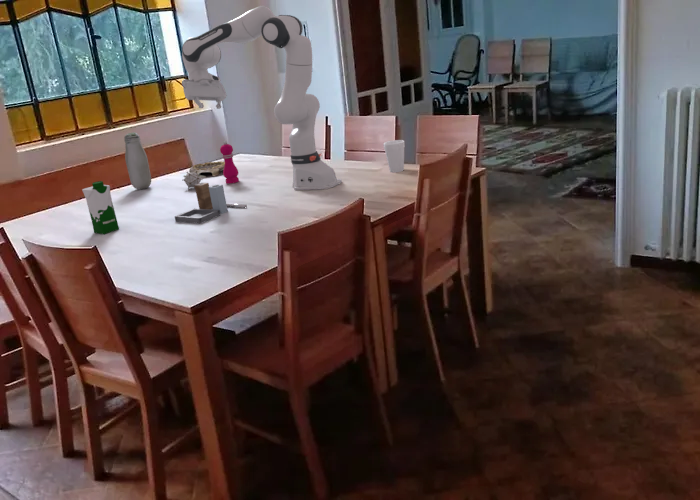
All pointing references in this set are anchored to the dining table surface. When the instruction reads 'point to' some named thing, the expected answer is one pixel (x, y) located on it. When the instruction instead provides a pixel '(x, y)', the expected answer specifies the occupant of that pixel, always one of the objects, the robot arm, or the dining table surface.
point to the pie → (208, 168)
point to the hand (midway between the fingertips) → (210, 107)
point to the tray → (197, 215)
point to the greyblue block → (218, 198)
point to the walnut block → (203, 196)
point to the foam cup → (395, 155)
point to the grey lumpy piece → (192, 179)
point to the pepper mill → (229, 164)
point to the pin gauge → (236, 205)
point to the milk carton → (101, 208)
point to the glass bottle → (137, 162)
